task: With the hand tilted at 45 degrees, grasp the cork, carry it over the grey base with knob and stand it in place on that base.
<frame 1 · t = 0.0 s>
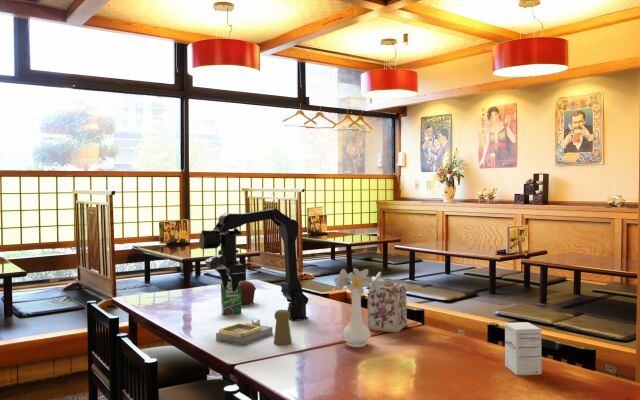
hand: (229, 289, 195), 15 cm above the table, tool pointing down, fingers open, 9 cm apart
supplement box: (523, 371, 146), on the table
cork: (282, 343, 177), on the table
flower vase: (357, 344, 174), on the table
decorative jar: (387, 328, 194), on the table
grey base with knob: (244, 337, 184), on the table
muffin: (243, 303, 240), on the table
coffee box: (231, 314, 220), on the table
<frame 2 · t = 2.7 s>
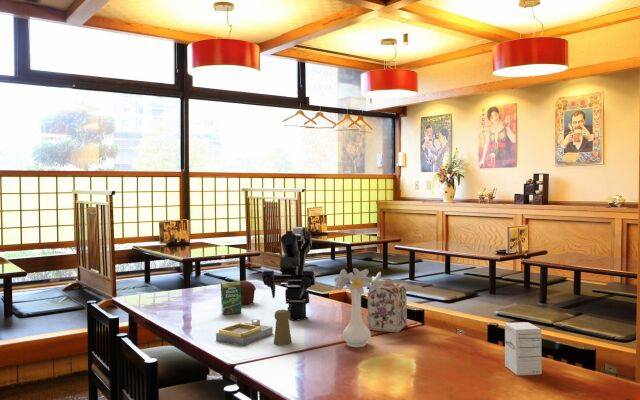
hand: (286, 297, 184), 13 cm above the table, tool tilted 45°, fingers open, 9 cm apart
nothing on the table moved.
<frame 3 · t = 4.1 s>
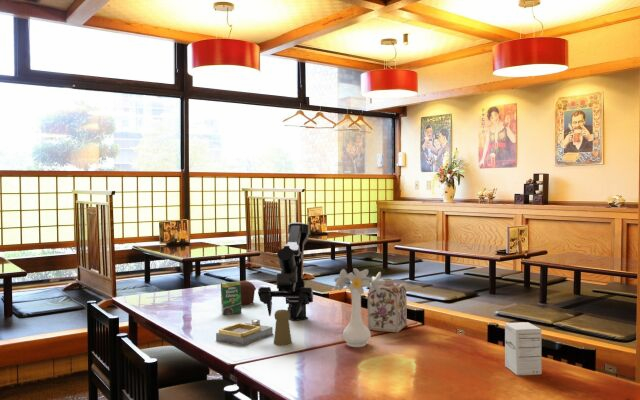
hand: (282, 315, 178), 9 cm above the table, tool tilted 45°, fingers open, 9 cm apart
nothing on the table moved.
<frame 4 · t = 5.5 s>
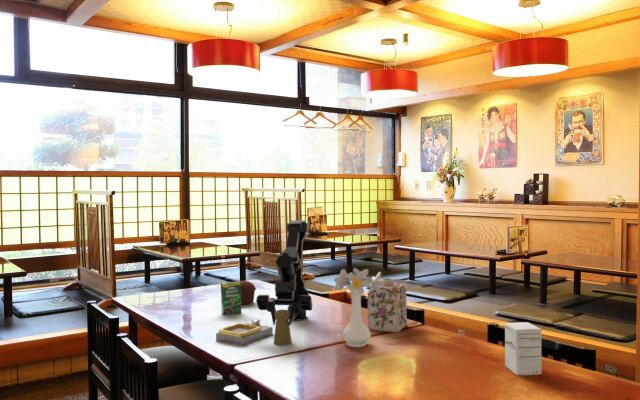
hand: (281, 324, 175), 7 cm above the table, tool tilted 45°, fingers closed on cork, 5 cm apart
cork: (282, 343, 177), on the table, touching gripper
everything else where it was.
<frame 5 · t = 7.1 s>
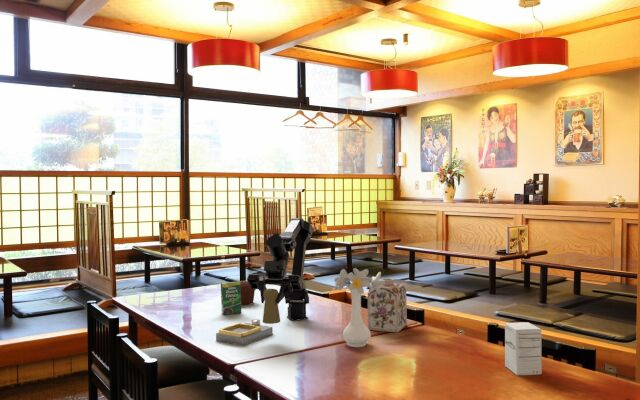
hand: (269, 303, 177), 13 cm above the table, tool tilted 45°, fingers closed on cork, 5 cm apart
cork: (271, 322, 179), point 7 cm above the table, touching gripper
everything else where it was.
when the fingers open (10 cm above the table, at t = 9.1 s): cork stays where it is, resting on grey base with knob.
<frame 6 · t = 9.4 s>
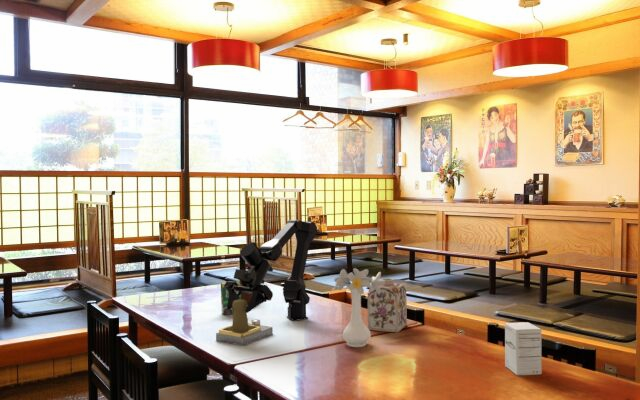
hand: (236, 310, 181), 10 cm above the table, tool tilted 45°, fingers open, 8 cm apart
cork: (240, 332, 182), point 2 cm above the table, touching grey base with knob
everything else where it was.
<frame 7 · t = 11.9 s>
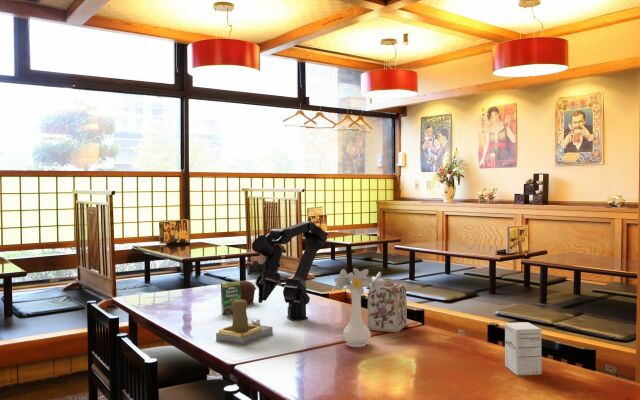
hand: (261, 301, 192), 11 cm above the table, tool tilted 25°, fingers open, 9 cm apart
nothing on the table moved.
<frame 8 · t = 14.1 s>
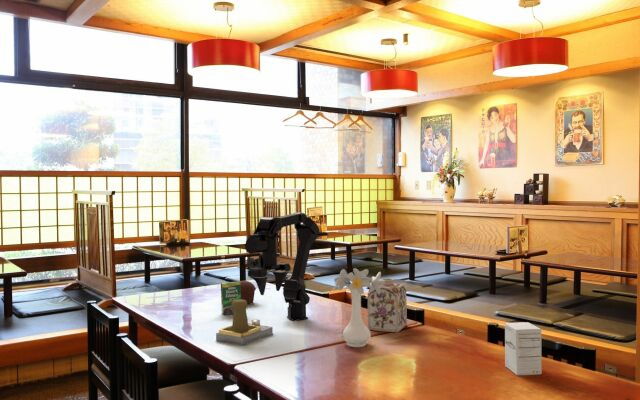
hand: (270, 292, 196), 13 cm above the table, tool pointing down, fingers open, 9 cm apart
nothing on the table moved.
at the end: cork 0.2 cm from the target spot on the grey base with knob, point 2.3 cm above the grey base with knob's base; cork tilted 0°; the gripper is holding nothing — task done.
